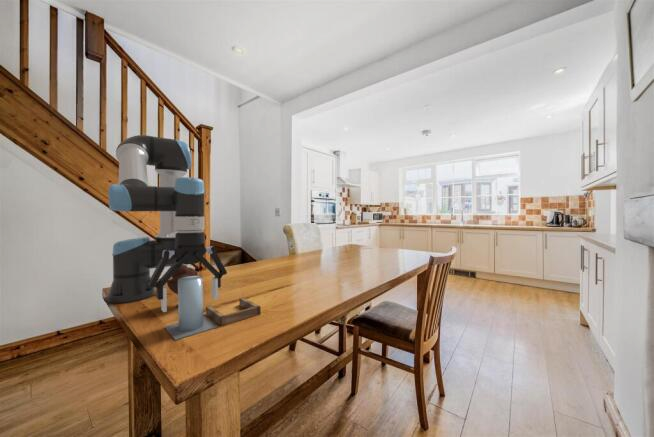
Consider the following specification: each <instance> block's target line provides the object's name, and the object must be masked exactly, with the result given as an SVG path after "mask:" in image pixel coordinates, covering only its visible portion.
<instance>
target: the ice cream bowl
mask: <svg viewBox="0 0 654 437" xmlns="http://www.w3.org/2000/svg"><path fill="white" fill-rule="evenodd" d="M188 276H199V274H198V271H197V270H195V269H194V268H192V267H190V266H189V267H188V265H185V264H184V265H181V267H179V268H178V269H177V271H176V272H175V273H174V274H173V275H172V277H171V278H170V279H169V280H168V281H167V283H166V285H167V287H168V289H169V290H170V291H171V292H172V293H174V294H176V295H178V279H180V278H183V277H188ZM175 308H177V309H178V303H177V304H176V306H175Z"/></svg>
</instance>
